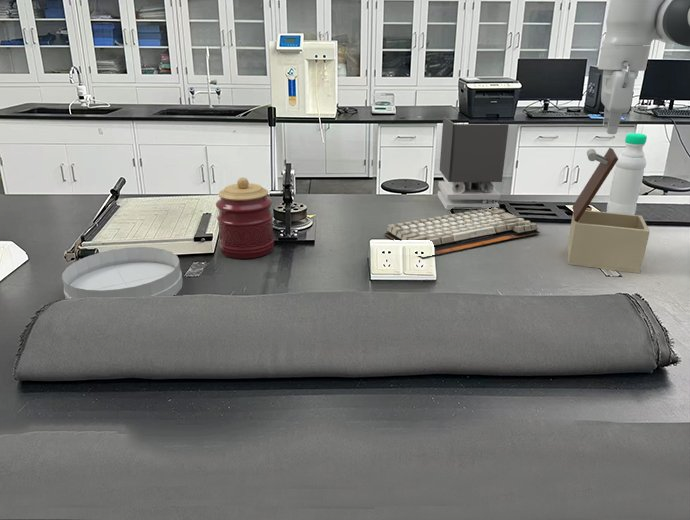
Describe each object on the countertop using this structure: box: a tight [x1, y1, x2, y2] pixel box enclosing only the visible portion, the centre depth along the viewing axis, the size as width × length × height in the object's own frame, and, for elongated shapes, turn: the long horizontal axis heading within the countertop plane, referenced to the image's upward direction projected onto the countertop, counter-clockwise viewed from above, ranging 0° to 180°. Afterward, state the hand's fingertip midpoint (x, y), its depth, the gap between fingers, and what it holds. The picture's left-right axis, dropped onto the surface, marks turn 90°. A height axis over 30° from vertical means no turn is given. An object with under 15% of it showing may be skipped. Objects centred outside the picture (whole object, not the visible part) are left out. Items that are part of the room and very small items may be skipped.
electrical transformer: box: [437, 116, 509, 211], centre depth 163 cm, size 16×19×25 cm
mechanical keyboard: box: [383, 207, 541, 256], centre depth 138 cm, size 38×19×3 cm, turn 117°
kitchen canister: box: [215, 177, 275, 260], centre depth 125 cm, size 13×13×18 cm
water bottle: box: [606, 132, 648, 215], centre depth 140 cm, size 7×7×25 cm
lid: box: [572, 147, 619, 222], centre depth 118 cm, size 15×12×5 cm
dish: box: [61, 246, 184, 300], centre depth 107 cm, size 22×22×5 cm
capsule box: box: [566, 209, 651, 274], centre depth 121 cm, size 15×12×10 cm
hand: (609, 130), depth 113 cm, fingers open, 8 cm apart
